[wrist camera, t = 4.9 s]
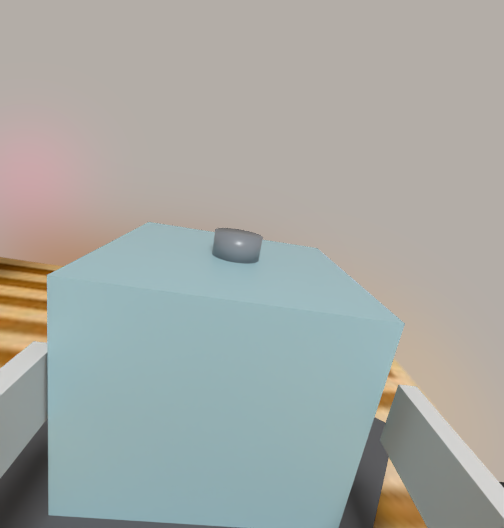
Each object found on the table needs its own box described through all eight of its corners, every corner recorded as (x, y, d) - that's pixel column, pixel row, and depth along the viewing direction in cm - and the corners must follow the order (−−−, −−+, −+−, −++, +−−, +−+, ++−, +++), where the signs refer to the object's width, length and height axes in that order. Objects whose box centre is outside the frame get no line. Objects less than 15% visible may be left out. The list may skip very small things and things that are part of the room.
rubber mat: (-53, 457, 14) (-53, 450, 14) (198, 333, 28) (198, 330, 28) (274, 958, 6) (278, 950, 6) (393, 432, 20) (395, 427, 20)
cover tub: (48, 515, 12) (46, 237, 9) (138, 351, 23) (150, 204, 21) (336, 533, 13) (415, 291, 10) (289, 369, 25) (321, 231, 22)
